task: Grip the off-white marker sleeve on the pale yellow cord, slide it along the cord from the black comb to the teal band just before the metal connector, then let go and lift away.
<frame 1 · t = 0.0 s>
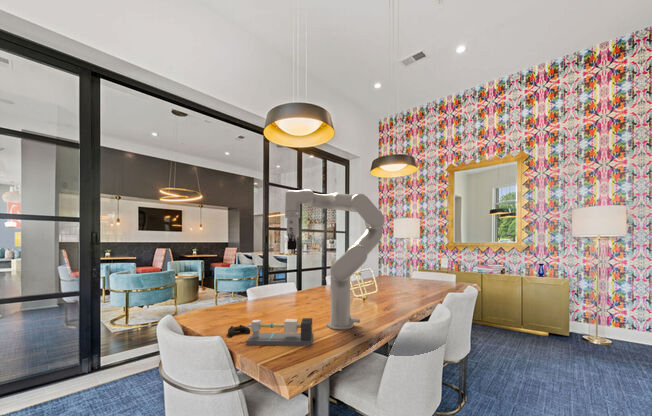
hand: (292, 249, 143), 37 cm above the table, tool pointing down, fingers open, 9 cm apart
game controller: (237, 334, 128), on the table
marker sleeve: (291, 325, 119), point 6 cm above the table, slide at 0.0 cm
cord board: (281, 340, 119), on the table
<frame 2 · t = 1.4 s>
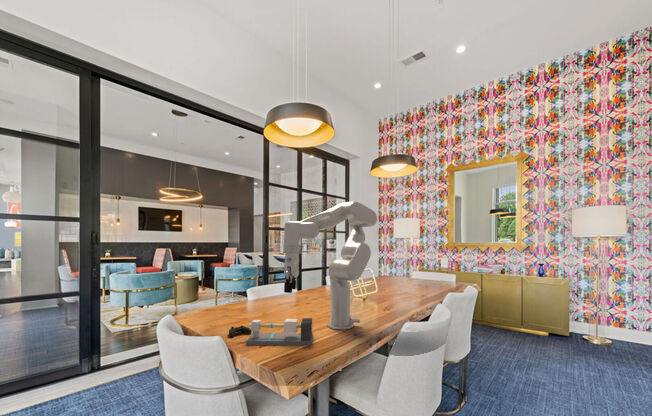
hand: (290, 290, 122), 20 cm above the table, tool pointing down, fingers open, 9 cm apart
game controller: (238, 335, 127), on the table
everything else where it was.
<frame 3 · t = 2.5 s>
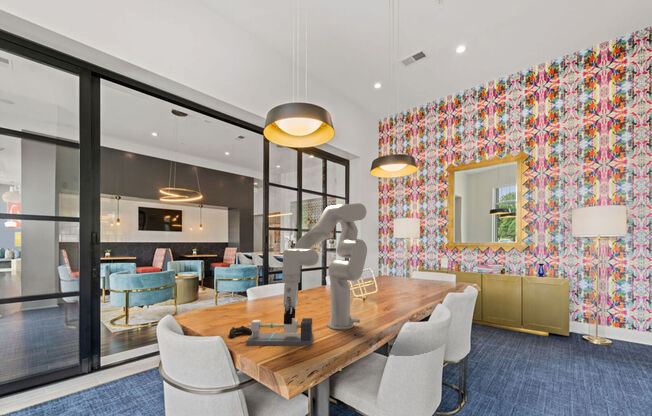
hand: (289, 321, 119), 8 cm above the table, tool pointing down, fingers open, 9 cm apart
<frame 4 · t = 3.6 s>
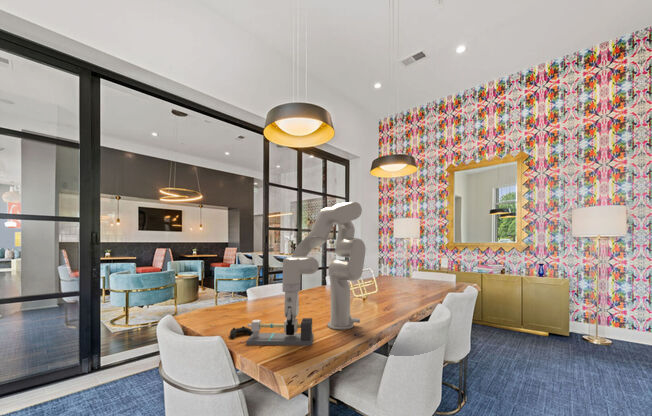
hand: (290, 332, 119), 3 cm above the table, tool pointing down, fingers closed on marker sleeve, 4 cm apart
marker sleeve: (291, 325, 119), point 6 cm above the table, slide at 0.0 cm, touching gripper
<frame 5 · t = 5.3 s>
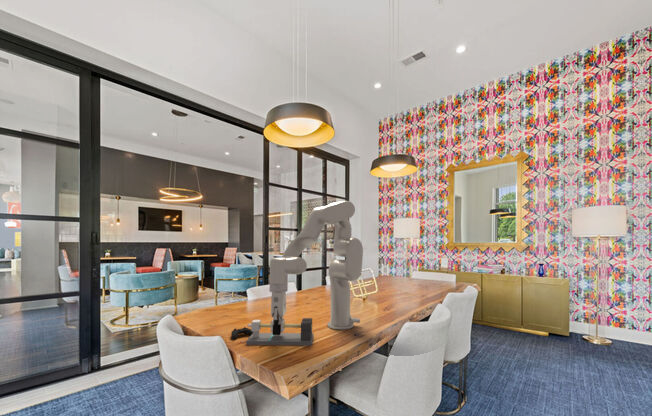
hand: (277, 332, 119), 3 cm above the table, tool pointing down, fingers closed on marker sleeve, 4 cm apart
game controller: (241, 337, 124), on the table
marker sleeve: (277, 325, 119), point 6 cm above the table, slide at 5.5 cm, touching gripper
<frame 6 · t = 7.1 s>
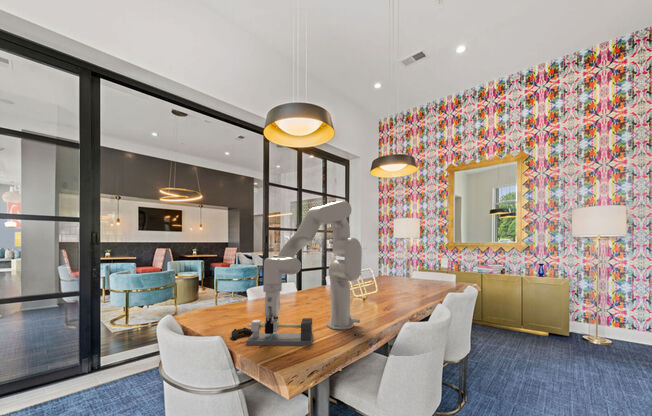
hand: (271, 329, 119), 4 cm above the table, tool pointing down, fingers open, 9 cm apart
marker sleeve: (271, 325, 119), point 6 cm above the table, slide at 8.0 cm
everything else where it was.
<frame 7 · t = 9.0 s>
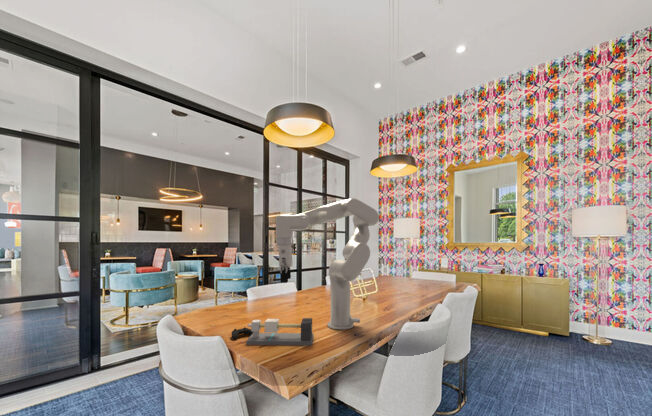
hand: (285, 280, 129), 23 cm above the table, tool pointing down, fingers open, 9 cm apart
nothing on the table moved.
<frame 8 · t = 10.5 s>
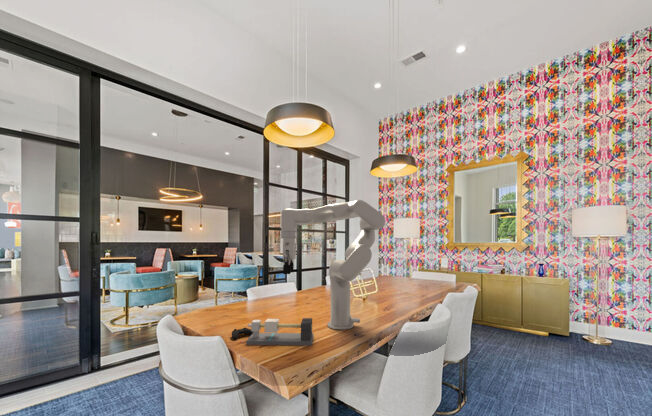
hand: (288, 272, 132), 26 cm above the table, tool pointing down, fingers open, 9 cm apart
game controller: (241, 337, 124), on the table, touching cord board
everything else where it was.
at the end: marker sleeve slide at 8.0 cm; the gripper is holding nothing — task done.
